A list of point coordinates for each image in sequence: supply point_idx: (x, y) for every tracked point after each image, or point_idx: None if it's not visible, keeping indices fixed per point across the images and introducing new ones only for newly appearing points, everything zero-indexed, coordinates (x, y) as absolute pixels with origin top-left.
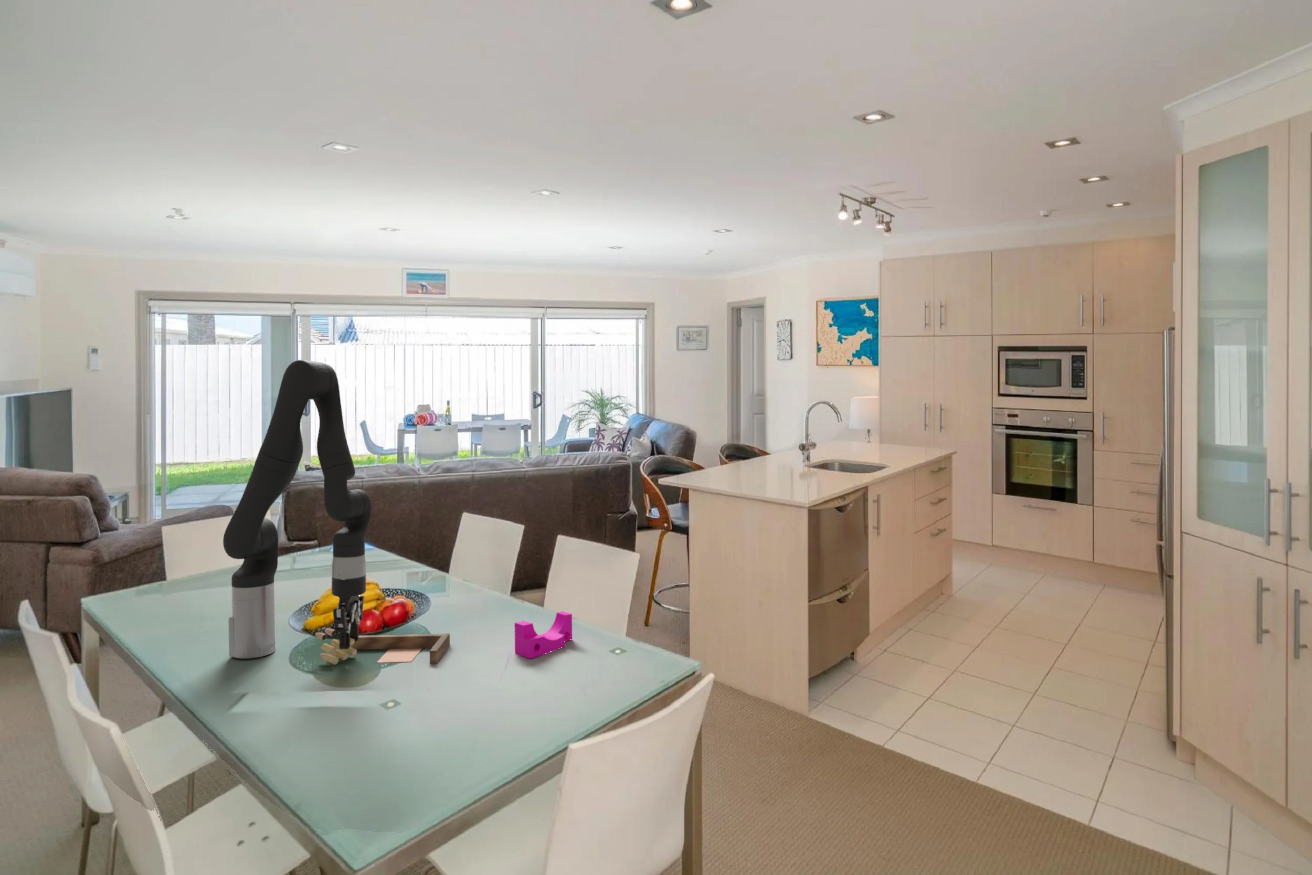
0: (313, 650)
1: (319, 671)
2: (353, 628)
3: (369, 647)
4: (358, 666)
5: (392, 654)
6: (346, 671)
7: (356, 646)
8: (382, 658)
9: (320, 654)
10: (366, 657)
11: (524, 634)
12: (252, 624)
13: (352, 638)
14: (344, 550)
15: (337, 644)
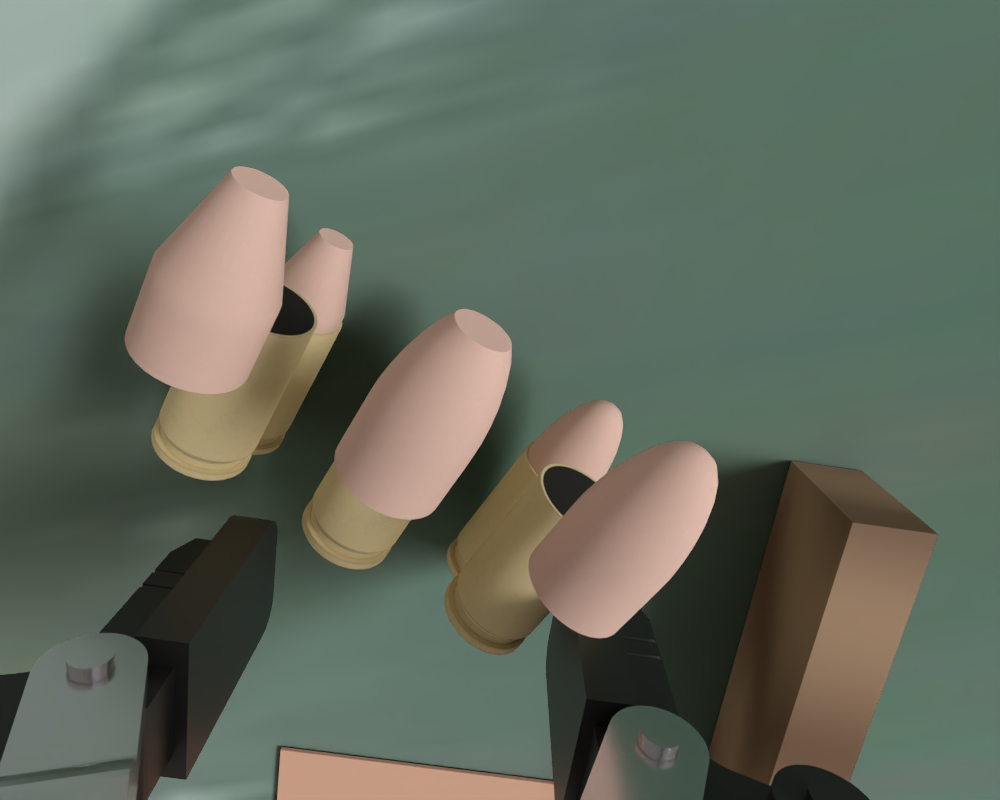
0: (920, 4)
1: (64, 283)
2: (565, 744)
3: (747, 643)
4: None
5: None
6: (52, 543)
7: (787, 528)
8: (386, 779)
9: (311, 240)
10: (464, 644)
11: None
12: None
13: (561, 624)
14: None
15: (328, 479)
